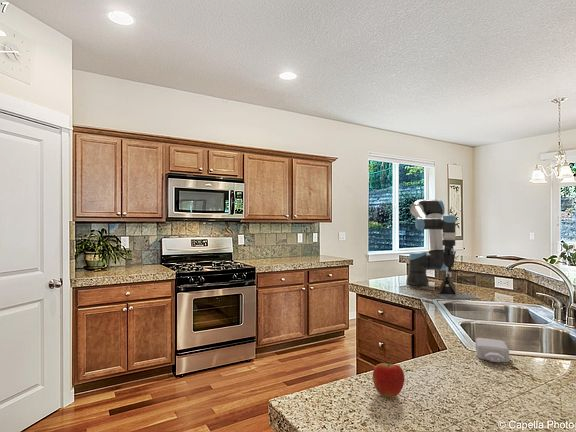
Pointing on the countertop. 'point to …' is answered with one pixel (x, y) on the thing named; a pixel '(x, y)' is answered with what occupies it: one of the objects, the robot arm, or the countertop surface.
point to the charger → (492, 350)
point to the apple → (388, 379)
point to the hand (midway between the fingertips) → (448, 276)
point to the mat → (455, 296)
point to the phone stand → (446, 289)
